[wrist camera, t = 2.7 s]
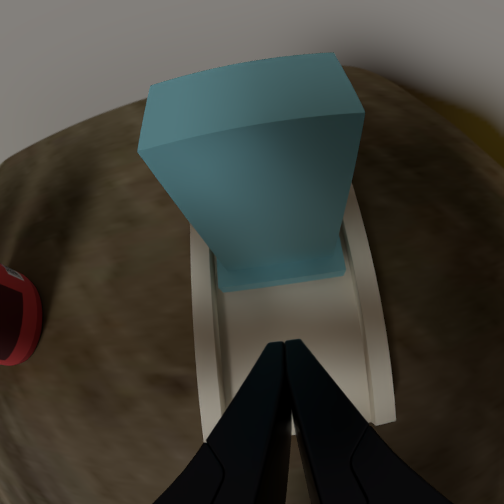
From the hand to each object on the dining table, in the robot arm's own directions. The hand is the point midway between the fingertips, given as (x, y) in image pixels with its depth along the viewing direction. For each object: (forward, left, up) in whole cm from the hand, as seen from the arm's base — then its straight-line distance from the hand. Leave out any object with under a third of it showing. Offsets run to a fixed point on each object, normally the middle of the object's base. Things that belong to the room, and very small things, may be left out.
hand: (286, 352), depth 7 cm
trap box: (+4, -6, -8) cm, 11 cm away
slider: (+3, -5, -7) cm, 9 cm away
